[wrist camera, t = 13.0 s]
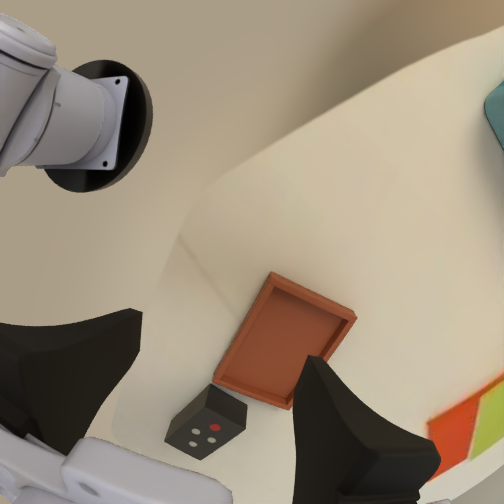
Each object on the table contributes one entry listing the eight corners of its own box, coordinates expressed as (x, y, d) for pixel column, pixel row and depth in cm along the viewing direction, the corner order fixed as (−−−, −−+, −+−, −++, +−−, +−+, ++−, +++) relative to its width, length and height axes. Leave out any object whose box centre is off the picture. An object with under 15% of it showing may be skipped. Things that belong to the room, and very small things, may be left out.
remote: (205, 439, 25) (200, 461, 22) (171, 420, 25) (163, 442, 22) (247, 405, 24) (246, 429, 21) (210, 383, 23) (204, 407, 20)
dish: (287, 401, 24) (288, 410, 23) (213, 373, 23) (211, 381, 22) (353, 310, 21) (357, 317, 20) (271, 271, 21) (271, 276, 20)
